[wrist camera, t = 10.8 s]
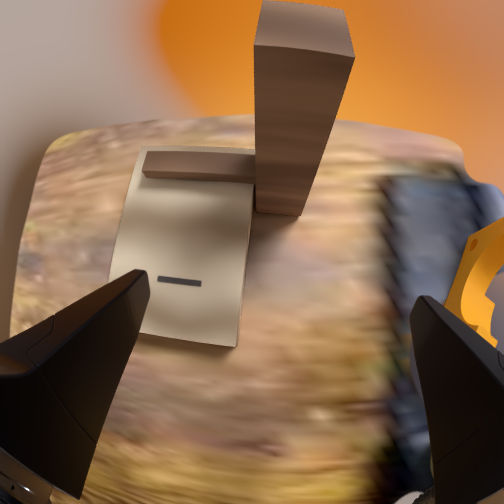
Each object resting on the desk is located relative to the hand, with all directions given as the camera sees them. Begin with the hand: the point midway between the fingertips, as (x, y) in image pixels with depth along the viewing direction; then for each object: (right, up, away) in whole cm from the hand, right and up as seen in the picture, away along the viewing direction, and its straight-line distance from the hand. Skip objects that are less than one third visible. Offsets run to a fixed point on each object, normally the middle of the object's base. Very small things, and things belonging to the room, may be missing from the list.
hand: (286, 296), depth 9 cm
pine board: (-6, +2, +15) cm, 16 cm away
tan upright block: (-3, +7, +16) cm, 17 cm away
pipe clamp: (+19, -3, +13) cm, 23 cm away
